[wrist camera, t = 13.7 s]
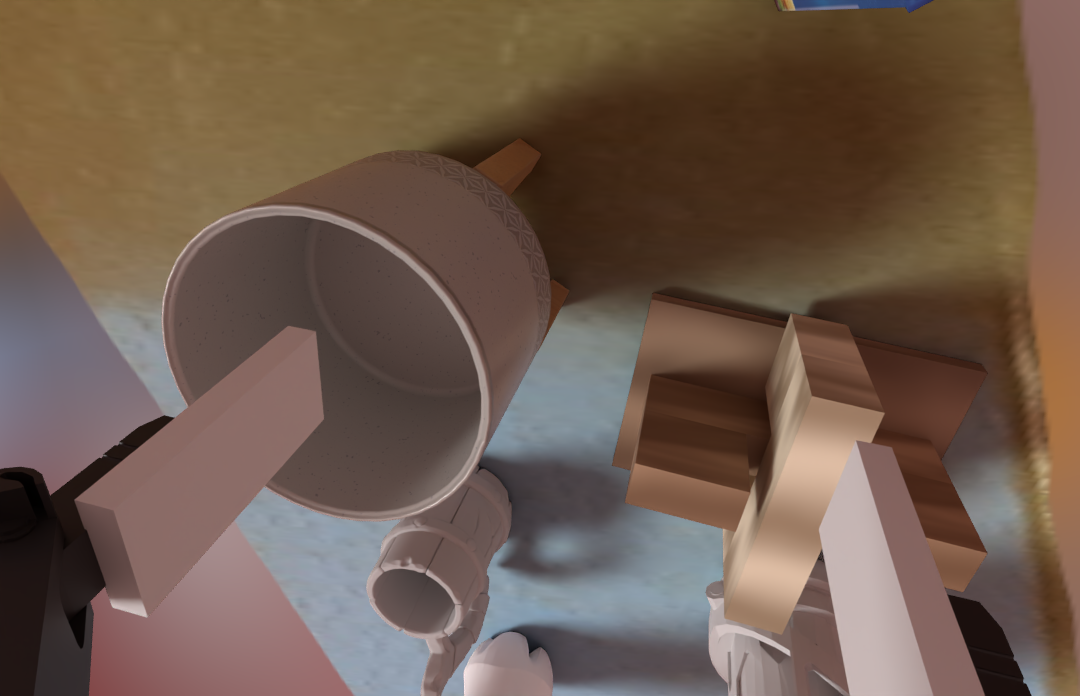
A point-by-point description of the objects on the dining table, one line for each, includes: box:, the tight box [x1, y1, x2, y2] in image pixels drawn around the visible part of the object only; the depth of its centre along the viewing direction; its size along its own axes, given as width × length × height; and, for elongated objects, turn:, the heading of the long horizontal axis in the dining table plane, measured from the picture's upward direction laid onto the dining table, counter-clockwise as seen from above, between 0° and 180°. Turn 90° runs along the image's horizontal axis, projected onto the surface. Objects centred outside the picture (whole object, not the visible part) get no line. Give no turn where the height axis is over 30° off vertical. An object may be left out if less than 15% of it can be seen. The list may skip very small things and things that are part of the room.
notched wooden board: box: [723, 313, 885, 635], centre depth 35 cm, size 14×3×9 cm, turn 172°
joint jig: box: [612, 293, 988, 592], centre depth 36 cm, size 12×18×10 cm, turn 82°
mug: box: [367, 465, 512, 696], centre depth 44 cm, size 8×12×12 cm, turn 13°
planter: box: [162, 138, 569, 521], centre depth 32 cm, size 13×13×18 cm
